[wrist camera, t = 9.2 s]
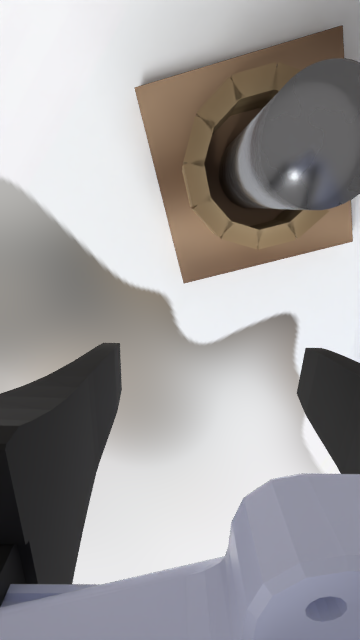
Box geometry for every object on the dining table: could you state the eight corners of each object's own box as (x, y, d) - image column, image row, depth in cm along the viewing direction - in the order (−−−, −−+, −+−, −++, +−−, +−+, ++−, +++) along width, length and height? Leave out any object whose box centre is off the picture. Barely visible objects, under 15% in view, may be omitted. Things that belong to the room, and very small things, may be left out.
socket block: (342, 239, 20) (381, 246, 16) (183, 279, 21) (185, 294, 17) (330, 37, 16) (377, -13, 13) (137, 95, 17) (126, 64, 13)
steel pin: (298, 181, 18) (411, 160, 9) (240, 221, 19) (296, 234, 10) (267, 115, 17) (364, 23, 8) (205, 160, 17) (236, 118, 9)
